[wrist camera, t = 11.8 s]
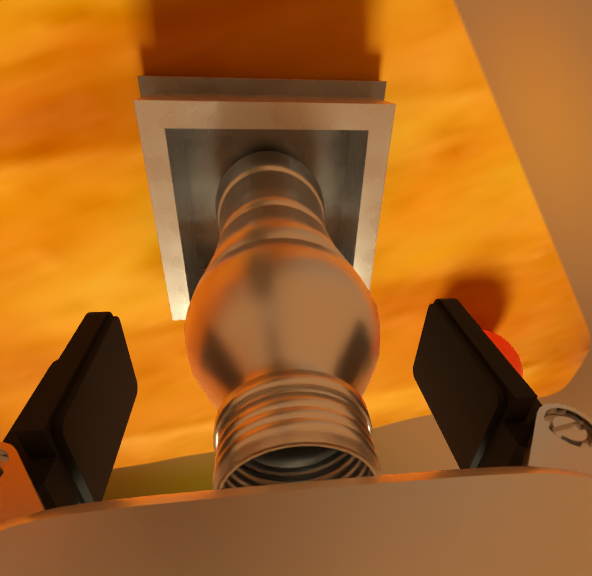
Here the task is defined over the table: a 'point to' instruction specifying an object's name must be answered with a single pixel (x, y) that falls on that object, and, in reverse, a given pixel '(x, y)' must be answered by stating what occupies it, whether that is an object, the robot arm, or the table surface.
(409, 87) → the table surface
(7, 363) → the table surface
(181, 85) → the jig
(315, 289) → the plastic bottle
